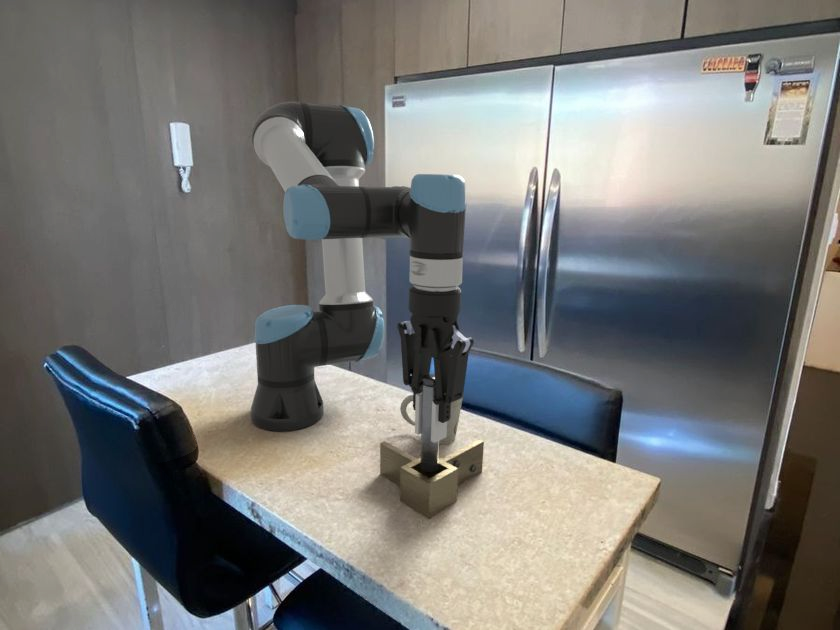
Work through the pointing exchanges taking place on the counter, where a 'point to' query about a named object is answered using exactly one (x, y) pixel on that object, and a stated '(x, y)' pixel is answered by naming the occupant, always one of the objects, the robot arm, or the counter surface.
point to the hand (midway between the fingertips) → (430, 434)
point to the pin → (428, 426)
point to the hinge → (430, 476)
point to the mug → (451, 423)
